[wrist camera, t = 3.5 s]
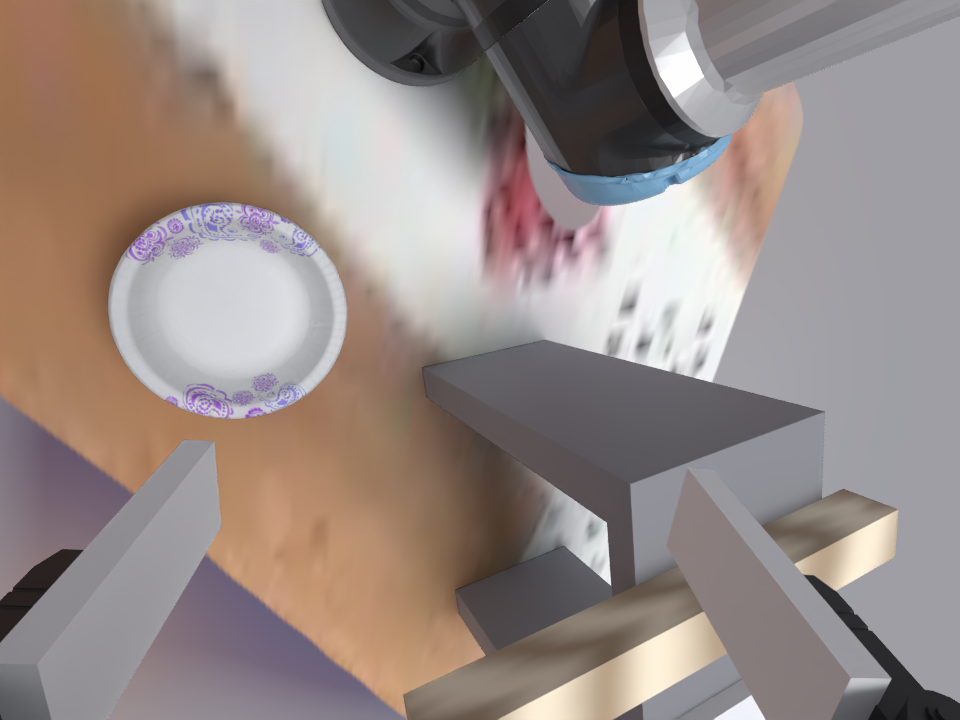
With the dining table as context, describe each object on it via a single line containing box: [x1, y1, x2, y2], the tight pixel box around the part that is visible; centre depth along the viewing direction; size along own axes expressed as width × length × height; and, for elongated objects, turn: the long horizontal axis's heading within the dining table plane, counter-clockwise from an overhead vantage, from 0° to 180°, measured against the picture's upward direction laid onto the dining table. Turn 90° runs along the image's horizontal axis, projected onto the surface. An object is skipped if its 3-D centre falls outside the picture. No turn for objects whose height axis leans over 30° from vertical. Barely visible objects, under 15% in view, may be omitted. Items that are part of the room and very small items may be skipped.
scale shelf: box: [422, 340, 825, 720], centre depth 44 cm, size 14×29×31 cm, turn 8°
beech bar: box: [403, 489, 898, 720], centre depth 26 cm, size 28×3×3 cm, turn 98°
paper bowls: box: [108, 202, 347, 419], centre depth 40 cm, size 15×15×8 cm
